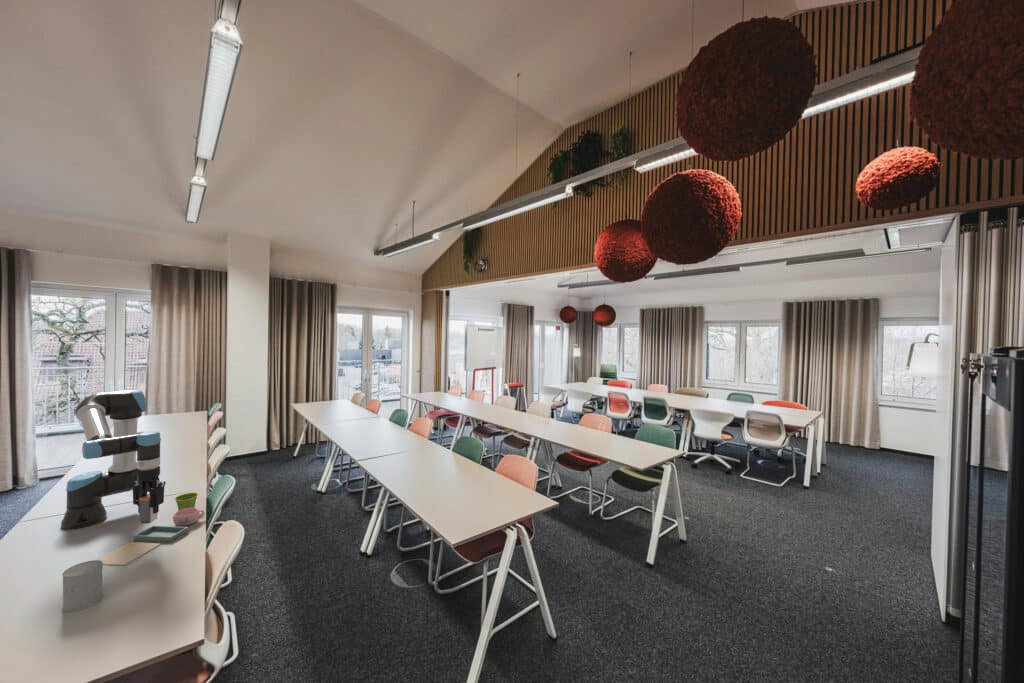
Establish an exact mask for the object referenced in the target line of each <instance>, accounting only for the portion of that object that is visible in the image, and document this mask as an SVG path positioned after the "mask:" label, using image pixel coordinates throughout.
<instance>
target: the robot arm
mask: <svg viewBox="0 0 1024 683" xmlns="http://www.w3.org/2000/svg"><path fill="white" fill-rule="evenodd" d="M147 409H148V408H147V401H146V397H145V394H144V392H143V391H142V390H138V389H135V390H134V389H130V390H129V389H127V390H118V391H107V392H105V391H104V392H97V393H94V394H90V395H89V396H86V398H83V399H82V400H81V401H80V403H78V405H77V406H76V408H75V412H74V413H75V414H74V415H75V416H76V419H77V420H78V421H80V422H81V425H82V429H83V432H84V436H85V440H86V441H84V442H83V443H82V446H81V447H82V449H81V450H82V451H81V452H82V457H83V459H85V460H92V459H99V458H103V457H110V456H112V465H110V466H109V467H108V469H107V472H102V471H100V470H95V471H87V472H84V473H80V474H78V475H75V476H73V477H71V478H70V479H69V480H68V481H67V482H66V489H65V491H66V511H65V513H64V515H63V518H62V520H61V521H60V522H61V523H60V528H61V529H63V530H72V529H73V530H75V529H76V530H77V529H81V528H86V527H90V526H92V525H96V524H98V523H101V522H103V521H104V520H106V518H108V517H107V516H108V512H107V510H106V509H105V506H104V504H103V502H102V501H103V500H102V499H103V498H104V497H108V496H112V495H117V494H121V493H125V492H128V493H129V492H131V491H132V504H133V505H134V506H135V505H136V506H137V507H138V508H137V509H138V510H137V511H138V513H139V498H140V497H143V496H145V495H147V494H150V497H151V504H152V506H150V523H152V522H154V521H156V520H157V519H158V513H159V511H160V510H159V508H160V507H159V506H160V505H161V504H163V503H165V502H164V500H165V499H164V498H165V486H166V483H167V482H166V481H164V480H163V481H161V480H160V477H159V476H160V475H161V466H160V465H161V441H162V438H161V433H160V432H159V431H155V430H154V431H153V430H152V431H138V419H140V418H141V417H142V413H144V412H147ZM107 416H109V419H110V420H112V421H113V433H112V432H111V429H110V426H109V424H108V421H107V418H106V417H107Z"/></svg>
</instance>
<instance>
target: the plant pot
mask: <svg viewBox="0 0 1024 683" xmlns="http://www.w3.org/2000/svg"><path fill="white" fill-rule="evenodd" d="M198 496H199V493H198V492H189V493H188V492H187V493H183V494H180V495H178V496H176V497H175V498H174V500H175V502H176V505H177V512H178V511H180V510H183V509H187V508H196V503H197V498H198Z"/></svg>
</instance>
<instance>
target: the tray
mask: <svg viewBox="0 0 1024 683" xmlns="http://www.w3.org/2000/svg"><path fill="white" fill-rule="evenodd" d="M188 533H189V527H188V526H176V525H175V526H171V525H169V526H168V525H152V526H150V527H148V528H146V529H144V530H142V531H140V532H138V533H137V534H134V535H133V542H142V543H165V544H166V543H168V544H169V543H173V542H174V541H176V540H178V539H179V538H181V537H183V536H185V535H187V534H188Z"/></svg>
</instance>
